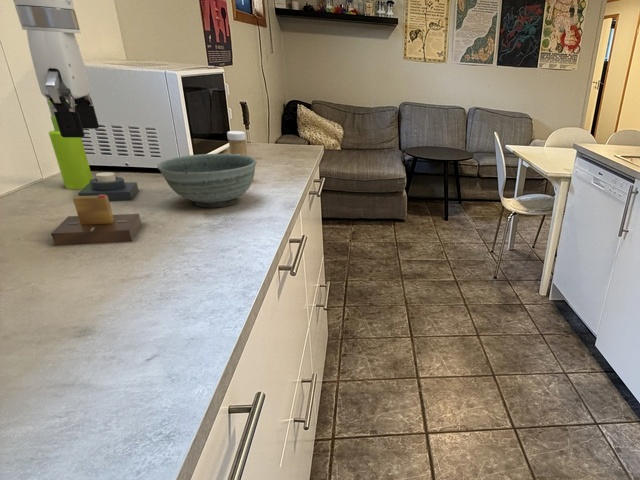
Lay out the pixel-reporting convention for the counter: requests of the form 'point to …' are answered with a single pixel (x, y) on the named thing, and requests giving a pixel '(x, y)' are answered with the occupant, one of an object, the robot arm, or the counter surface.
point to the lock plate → (97, 231)
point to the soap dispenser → (70, 158)
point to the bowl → (209, 177)
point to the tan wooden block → (93, 209)
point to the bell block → (111, 189)
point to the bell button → (105, 177)
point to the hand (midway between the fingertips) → (81, 132)
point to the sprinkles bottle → (237, 142)
